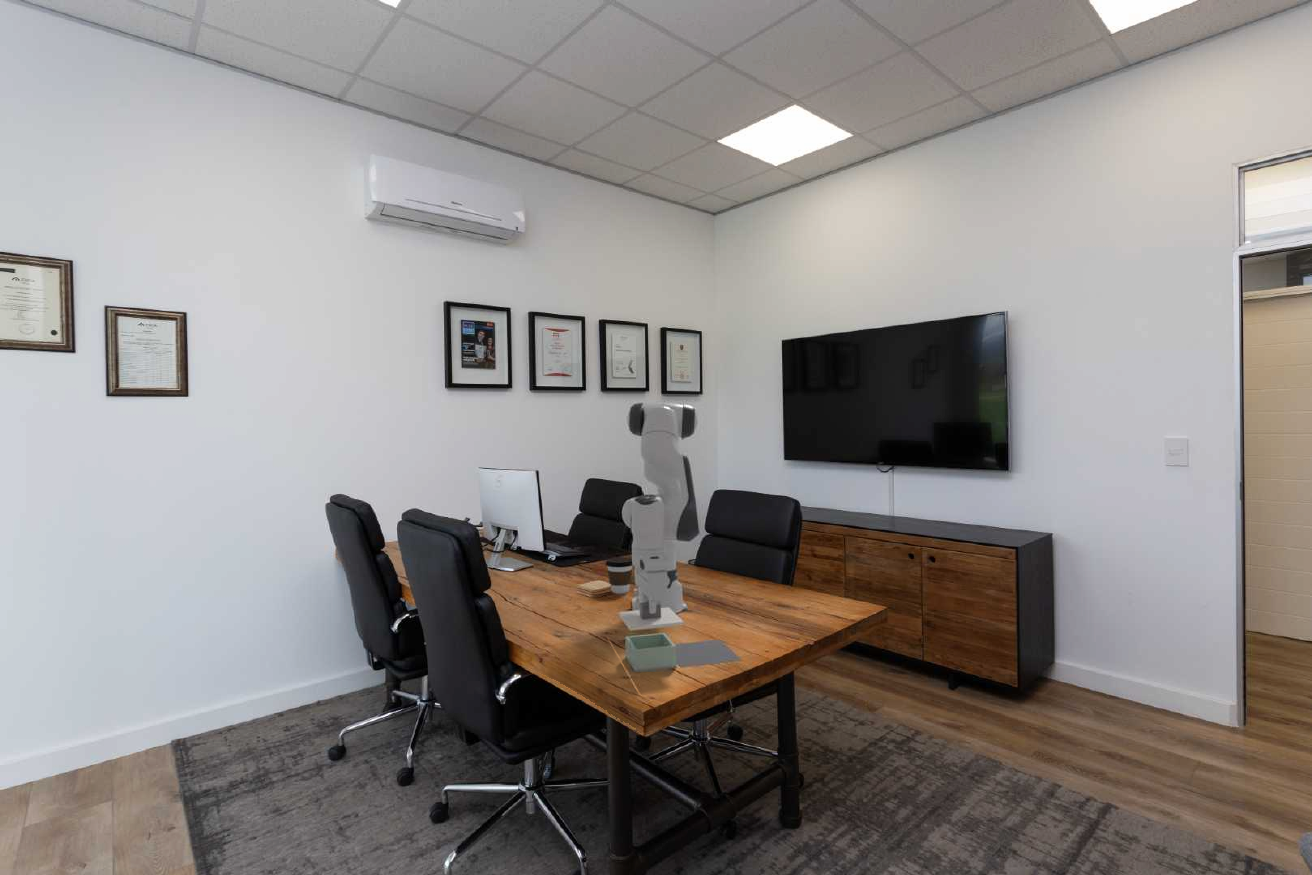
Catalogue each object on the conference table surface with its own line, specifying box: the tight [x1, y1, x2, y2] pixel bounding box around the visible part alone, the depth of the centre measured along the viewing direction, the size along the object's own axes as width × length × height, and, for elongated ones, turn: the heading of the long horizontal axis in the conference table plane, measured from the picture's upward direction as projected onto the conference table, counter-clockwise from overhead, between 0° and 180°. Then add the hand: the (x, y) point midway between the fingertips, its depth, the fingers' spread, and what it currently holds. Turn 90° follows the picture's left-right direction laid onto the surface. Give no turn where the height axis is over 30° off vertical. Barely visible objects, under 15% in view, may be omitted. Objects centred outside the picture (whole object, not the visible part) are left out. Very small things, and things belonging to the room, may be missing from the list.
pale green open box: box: [624, 632, 678, 674], centre depth 170 cm, size 11×11×6 cm
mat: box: [674, 639, 743, 668], centre depth 177 cm, size 17×17×1 cm
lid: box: [618, 602, 685, 631], centre depth 170 cm, size 14×14×4 cm
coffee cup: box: [604, 556, 633, 595], centre depth 243 cm, size 11×11×12 cm
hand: (650, 610), depth 170 cm, fingers closed on lid, 3 cm apart
